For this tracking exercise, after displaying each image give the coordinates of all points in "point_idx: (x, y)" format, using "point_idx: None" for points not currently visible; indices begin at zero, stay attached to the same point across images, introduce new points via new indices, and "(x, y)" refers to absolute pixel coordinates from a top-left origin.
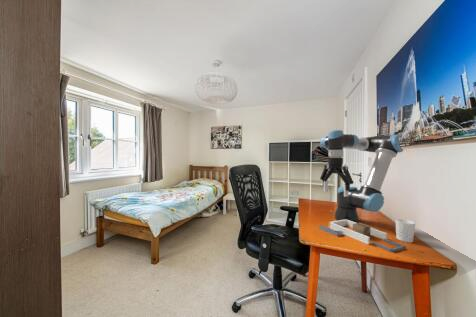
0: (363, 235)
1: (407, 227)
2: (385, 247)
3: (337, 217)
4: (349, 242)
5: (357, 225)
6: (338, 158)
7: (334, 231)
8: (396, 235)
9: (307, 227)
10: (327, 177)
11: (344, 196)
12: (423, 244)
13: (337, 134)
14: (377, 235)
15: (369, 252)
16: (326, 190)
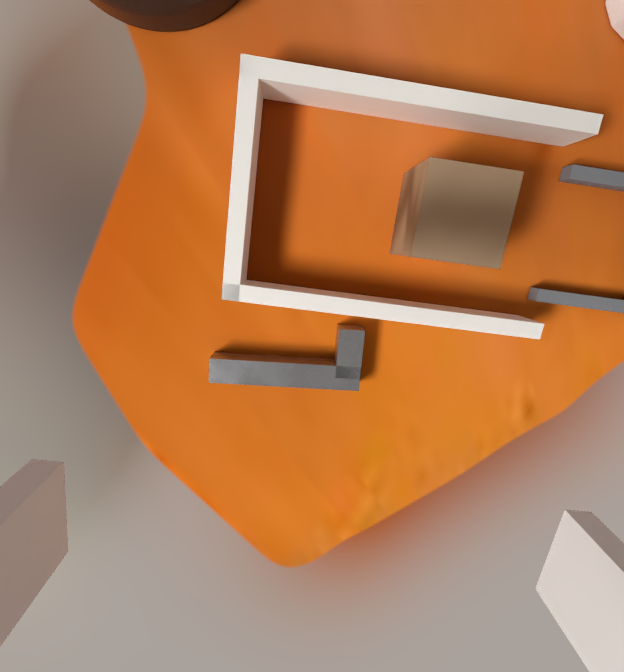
0: (508, 331)
1: None
2: (605, 310)
3: (120, 10)
4: (439, 395)
5: (450, 259)
6: None
7: (333, 382)
8: (622, 1)
9: (161, 424)
10: None
11: (548, 589)
12: None
13: None
14: (518, 134)
15: (551, 416)
16: (43, 531)
